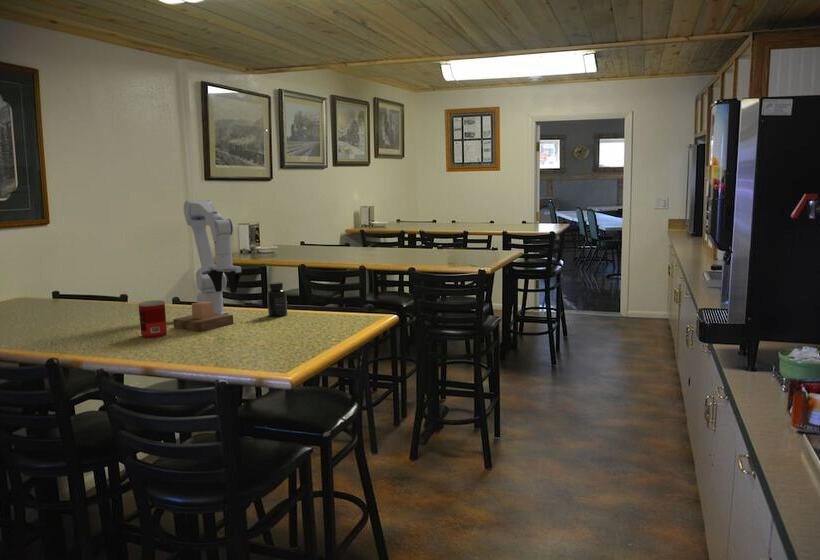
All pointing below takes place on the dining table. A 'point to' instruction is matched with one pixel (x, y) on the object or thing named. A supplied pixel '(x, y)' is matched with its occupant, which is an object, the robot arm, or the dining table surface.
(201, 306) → the terracotta cube
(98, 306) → the dining table surface
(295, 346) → the dining table surface
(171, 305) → the dining table surface
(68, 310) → the dining table surface
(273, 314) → the supplement bottle
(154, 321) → the canned food
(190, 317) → the walnut base
